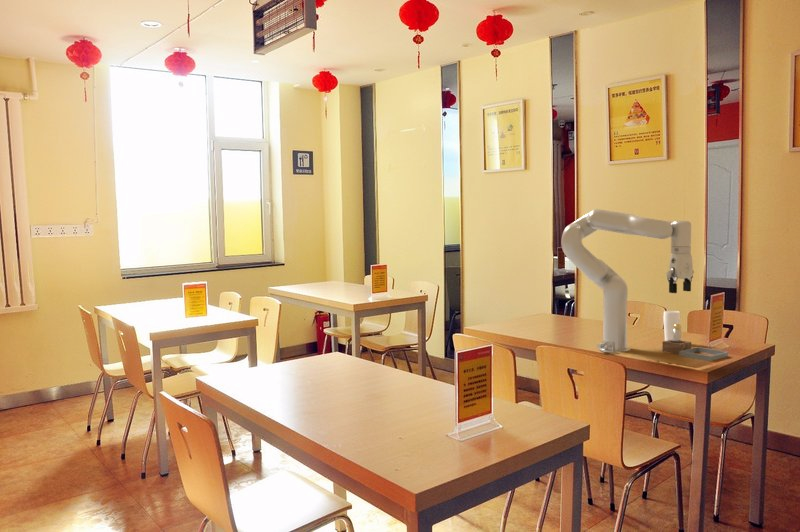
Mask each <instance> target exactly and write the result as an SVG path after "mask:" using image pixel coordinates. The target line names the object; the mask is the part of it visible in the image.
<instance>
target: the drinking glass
mask: <svg viewBox="0 0 800 532" xmlns="http://www.w3.org/2000/svg"><path fill="white" fill-rule="evenodd" d="M662 319H663V331H664V332H663V333H664V341H668V340H672V339H673V326H674V324H680V325H681V311H679V310H663V317H662Z"/></svg>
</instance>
